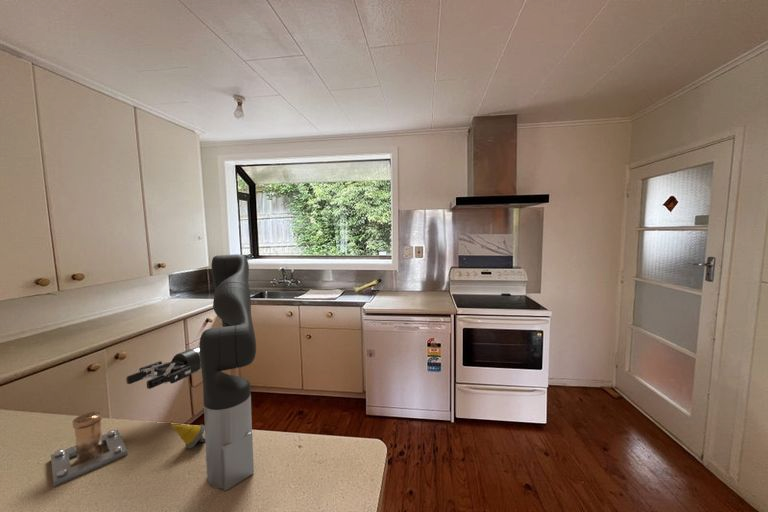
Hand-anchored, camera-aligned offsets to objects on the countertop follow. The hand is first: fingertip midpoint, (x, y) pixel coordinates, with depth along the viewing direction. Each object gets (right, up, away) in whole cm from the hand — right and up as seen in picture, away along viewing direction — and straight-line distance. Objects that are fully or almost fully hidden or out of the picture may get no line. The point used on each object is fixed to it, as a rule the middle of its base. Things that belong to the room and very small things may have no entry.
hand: (137, 383), depth 80 cm
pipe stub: (-4, -14, -9) cm, 17 cm away
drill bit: (+19, -14, -6) cm, 24 cm away
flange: (-4, -14, -9) cm, 17 cm away
